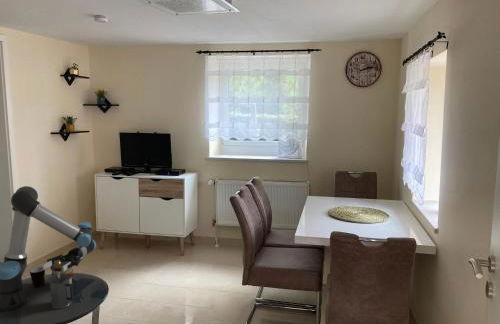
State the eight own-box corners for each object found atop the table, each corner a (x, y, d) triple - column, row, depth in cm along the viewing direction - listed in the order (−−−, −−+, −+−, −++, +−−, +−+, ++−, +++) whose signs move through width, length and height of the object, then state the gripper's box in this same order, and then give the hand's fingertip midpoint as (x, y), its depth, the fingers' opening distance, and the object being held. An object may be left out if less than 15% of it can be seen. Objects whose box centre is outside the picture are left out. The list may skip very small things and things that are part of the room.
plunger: (51, 301, 228) (47, 263, 225) (59, 294, 235) (55, 258, 232) (62, 302, 227) (59, 264, 224) (70, 295, 234) (67, 259, 231)
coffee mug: (40, 288, 252) (38, 272, 251) (27, 287, 254) (26, 272, 252) (52, 280, 264) (51, 265, 262) (41, 279, 265) (39, 264, 264)
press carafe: (47, 308, 228) (44, 281, 225) (59, 299, 238) (56, 273, 235) (67, 310, 225) (65, 282, 223) (79, 301, 235) (76, 274, 233)
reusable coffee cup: (48, 287, 254) (45, 263, 252) (67, 279, 264) (65, 257, 262) (59, 292, 247) (57, 268, 245) (78, 284, 257) (76, 261, 255)
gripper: (95, 260, 244) (73, 276, 223) (59, 258, 248) (34, 273, 227) (94, 248, 243) (72, 262, 222) (58, 246, 247) (33, 260, 226)
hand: (53, 268), depth 224 cm, fingers open, 11 cm apart
